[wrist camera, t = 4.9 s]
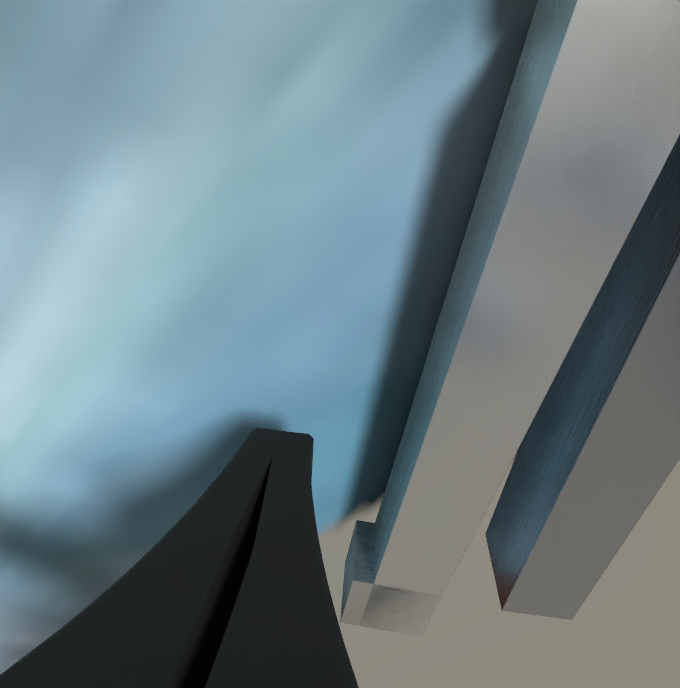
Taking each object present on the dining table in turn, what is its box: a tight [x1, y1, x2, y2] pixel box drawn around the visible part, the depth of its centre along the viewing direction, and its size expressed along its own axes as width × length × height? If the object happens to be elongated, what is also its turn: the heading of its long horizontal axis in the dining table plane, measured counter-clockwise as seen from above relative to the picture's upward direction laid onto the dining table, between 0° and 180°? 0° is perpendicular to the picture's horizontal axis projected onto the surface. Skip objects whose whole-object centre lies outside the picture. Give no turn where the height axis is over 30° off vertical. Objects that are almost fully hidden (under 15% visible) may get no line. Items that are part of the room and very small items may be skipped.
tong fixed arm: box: [486, 135, 680, 619], centre depth 8 cm, size 4×21×2 cm, turn 176°
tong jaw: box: [340, 0, 680, 636], centre depth 11 cm, size 16×3×2 cm, turn 171°
